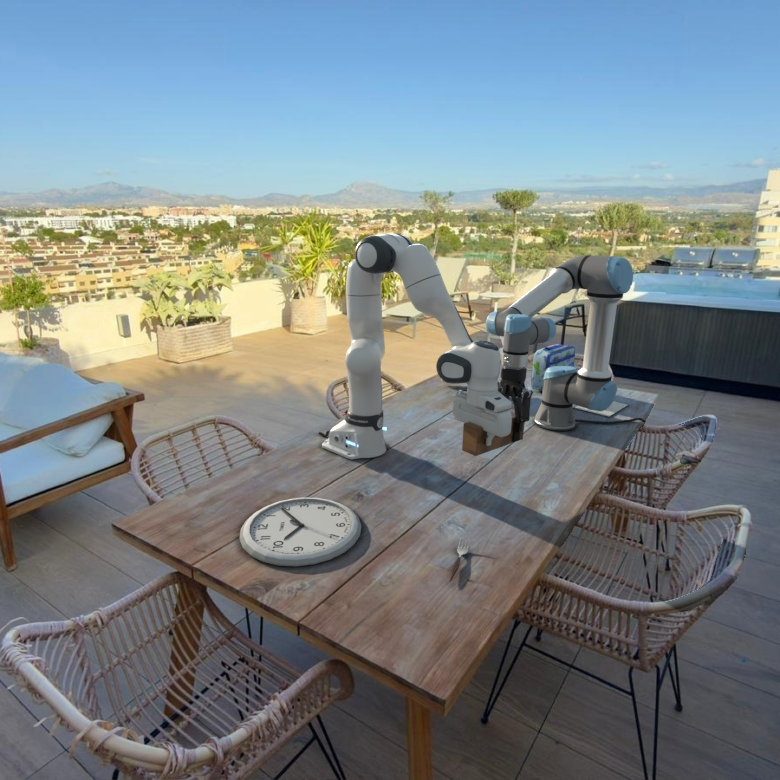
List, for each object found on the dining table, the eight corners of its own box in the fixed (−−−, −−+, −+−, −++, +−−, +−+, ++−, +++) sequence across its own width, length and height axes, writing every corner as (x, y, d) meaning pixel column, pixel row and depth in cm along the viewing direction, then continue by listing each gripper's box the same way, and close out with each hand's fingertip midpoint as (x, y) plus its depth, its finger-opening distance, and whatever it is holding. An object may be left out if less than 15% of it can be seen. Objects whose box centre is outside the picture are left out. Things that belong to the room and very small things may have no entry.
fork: (443, 582, 112) (444, 574, 112) (460, 542, 127) (460, 535, 126) (455, 584, 112) (456, 576, 111) (471, 544, 126) (471, 537, 125)
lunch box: (547, 396, 238) (552, 351, 232) (526, 391, 246) (531, 347, 239) (574, 385, 256) (579, 343, 250) (554, 380, 263) (559, 340, 257)
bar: (509, 433, 169) (511, 409, 166) (522, 439, 165) (525, 413, 162) (461, 450, 156) (463, 423, 153) (475, 456, 152) (477, 429, 149)
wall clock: (363, 557, 118) (227, 562, 115) (363, 563, 118) (227, 568, 115) (359, 492, 146) (250, 495, 143) (359, 498, 147) (250, 500, 144)
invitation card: (608, 416, 214) (573, 407, 224) (608, 416, 214) (573, 408, 224) (628, 404, 229) (594, 396, 238) (628, 405, 229) (594, 397, 238)
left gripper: (449, 390, 157) (446, 432, 161) (501, 408, 142) (497, 455, 146) (463, 386, 161) (461, 428, 165) (516, 404, 146) (512, 449, 150)
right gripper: (482, 361, 162) (477, 431, 169) (531, 375, 148) (524, 450, 155) (498, 358, 166) (493, 426, 173) (547, 371, 152) (539, 444, 159)
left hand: (478, 441), depth 155 cm, fingers closed on bar, 5 cm apart
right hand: (507, 437), depth 164 cm, fingers closed on bar, 5 cm apart
